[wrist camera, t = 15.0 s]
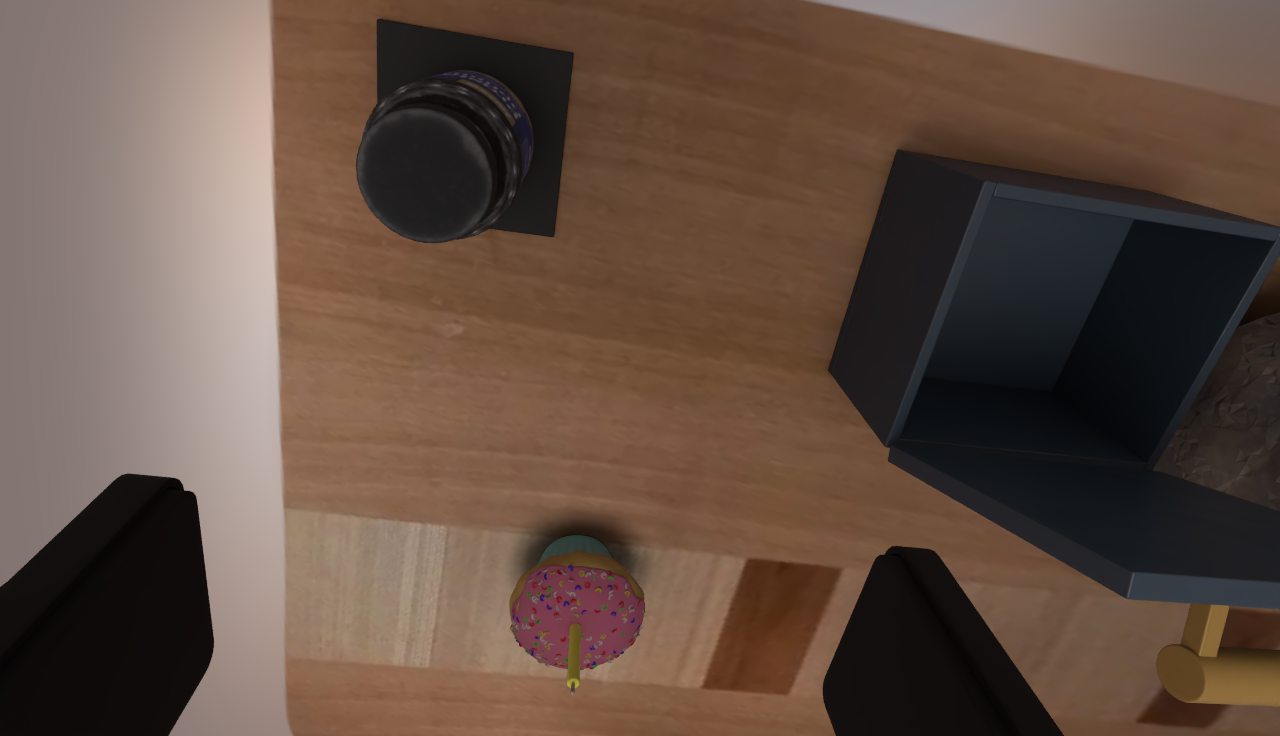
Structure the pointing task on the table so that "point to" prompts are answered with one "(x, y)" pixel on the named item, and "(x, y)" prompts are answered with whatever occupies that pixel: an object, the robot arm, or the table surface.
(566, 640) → the cupcake
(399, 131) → the pill bottle
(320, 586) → the table surface
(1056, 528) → the lid
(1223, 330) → the chest
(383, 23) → the mat
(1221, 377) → the bowl
